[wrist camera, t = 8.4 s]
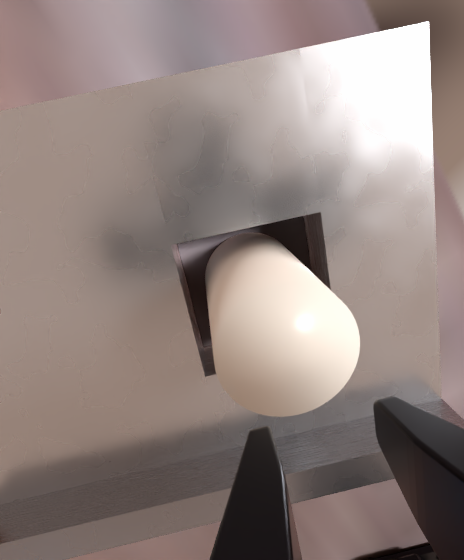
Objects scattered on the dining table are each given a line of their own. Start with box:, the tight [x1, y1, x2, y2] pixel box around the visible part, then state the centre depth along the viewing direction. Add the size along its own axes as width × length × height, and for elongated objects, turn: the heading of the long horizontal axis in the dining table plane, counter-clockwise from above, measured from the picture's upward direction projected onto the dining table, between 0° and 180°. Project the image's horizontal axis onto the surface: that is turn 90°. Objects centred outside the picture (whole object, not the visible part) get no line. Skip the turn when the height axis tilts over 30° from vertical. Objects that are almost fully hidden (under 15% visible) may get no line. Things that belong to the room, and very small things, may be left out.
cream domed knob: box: [205, 232, 360, 417], centre depth 14 cm, size 4×4×7 cm
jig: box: [0, 22, 464, 560], centre depth 15 cm, size 16×20×4 cm
